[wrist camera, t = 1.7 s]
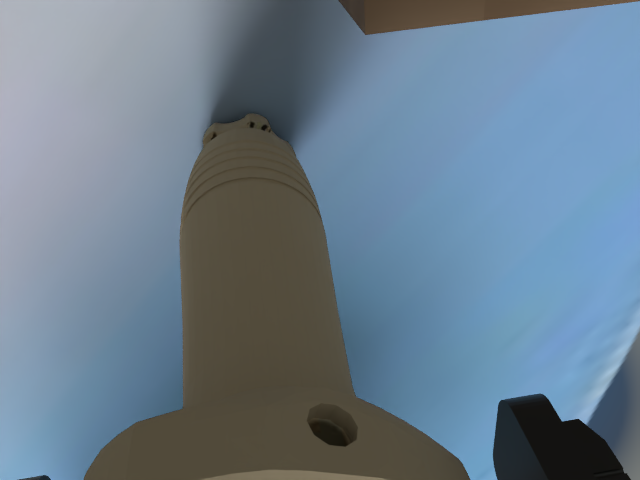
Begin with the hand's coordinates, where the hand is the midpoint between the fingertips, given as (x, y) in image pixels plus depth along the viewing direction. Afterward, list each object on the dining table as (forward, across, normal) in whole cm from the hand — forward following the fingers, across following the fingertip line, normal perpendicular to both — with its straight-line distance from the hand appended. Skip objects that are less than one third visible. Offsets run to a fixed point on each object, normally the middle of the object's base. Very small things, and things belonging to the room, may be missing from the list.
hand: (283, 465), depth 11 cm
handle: (+13, 0, 0) cm, 13 cm away
